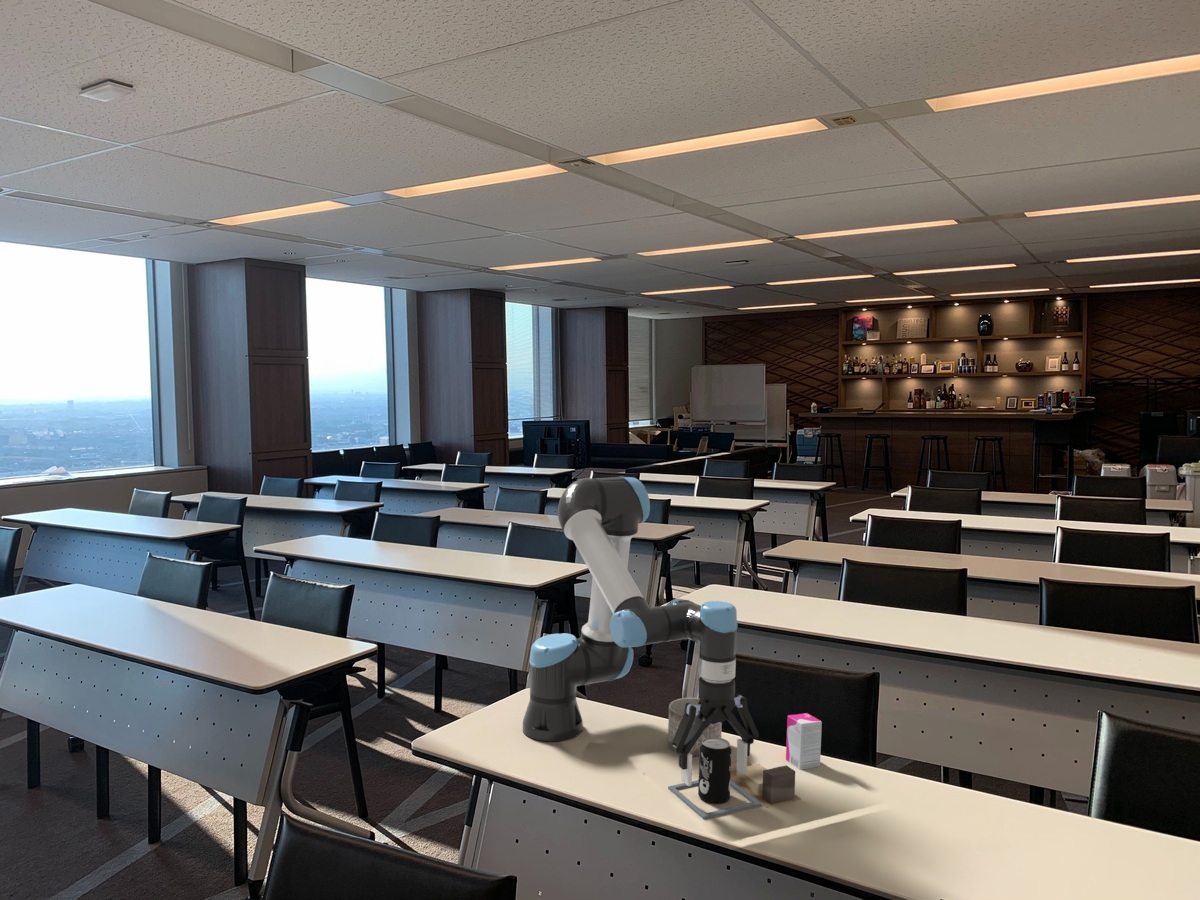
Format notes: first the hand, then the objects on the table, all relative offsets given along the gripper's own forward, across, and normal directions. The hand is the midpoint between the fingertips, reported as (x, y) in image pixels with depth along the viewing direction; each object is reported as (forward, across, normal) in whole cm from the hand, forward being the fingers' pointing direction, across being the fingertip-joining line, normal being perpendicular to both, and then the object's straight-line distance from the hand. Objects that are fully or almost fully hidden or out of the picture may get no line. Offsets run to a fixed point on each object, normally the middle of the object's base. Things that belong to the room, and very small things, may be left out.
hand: (714, 777), depth 175 cm
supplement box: (+6, +28, +6) cm, 29 cm away
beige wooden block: (+4, +12, +1) cm, 13 cm away
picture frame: (+5, 0, 0) cm, 5 cm away
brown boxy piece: (+5, +12, +2) cm, 13 cm away
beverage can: (+5, 0, 0) cm, 5 cm away
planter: (+6, +10, +24) cm, 27 cm away
